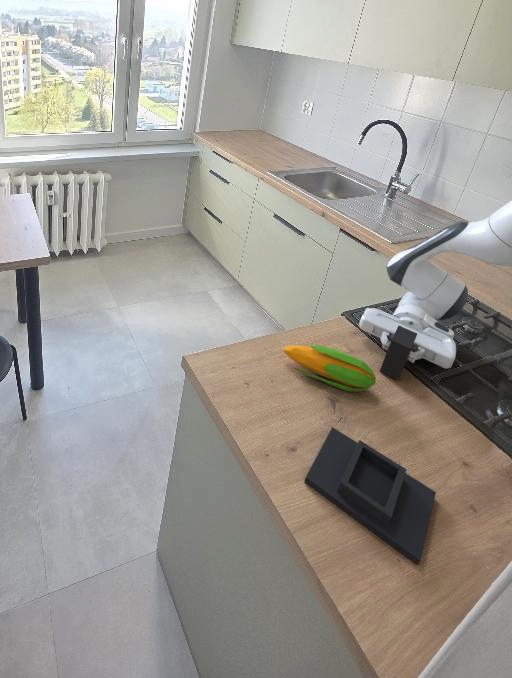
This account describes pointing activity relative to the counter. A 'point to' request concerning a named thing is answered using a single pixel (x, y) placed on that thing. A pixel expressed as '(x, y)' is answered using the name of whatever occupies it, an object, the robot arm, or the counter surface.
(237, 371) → the counter surface
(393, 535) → the base pad
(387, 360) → the upright pad
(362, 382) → the corn
